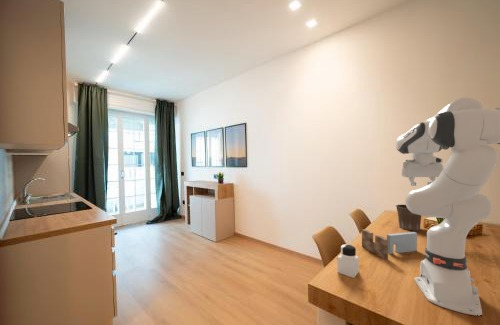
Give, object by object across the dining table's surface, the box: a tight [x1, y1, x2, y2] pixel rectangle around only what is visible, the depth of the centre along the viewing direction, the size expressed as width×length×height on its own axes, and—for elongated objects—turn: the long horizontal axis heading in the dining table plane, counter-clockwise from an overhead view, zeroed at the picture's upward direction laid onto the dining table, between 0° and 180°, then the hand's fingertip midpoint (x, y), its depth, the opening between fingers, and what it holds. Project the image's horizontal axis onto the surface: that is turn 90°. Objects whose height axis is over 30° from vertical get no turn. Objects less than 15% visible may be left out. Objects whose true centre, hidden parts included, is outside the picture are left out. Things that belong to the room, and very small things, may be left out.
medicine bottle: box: [337, 244, 360, 279], centre depth 95 cm, size 7×7×12 cm
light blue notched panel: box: [386, 231, 418, 255], centre depth 115 cm, size 18×2×10 cm, turn 102°
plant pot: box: [395, 204, 422, 232], centre depth 154 cm, size 16×16×16 cm
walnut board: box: [361, 228, 389, 260], centre depth 115 cm, size 16×2×10 cm, turn 12°
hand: (421, 185), depth 110 cm, fingers open, 8 cm apart
